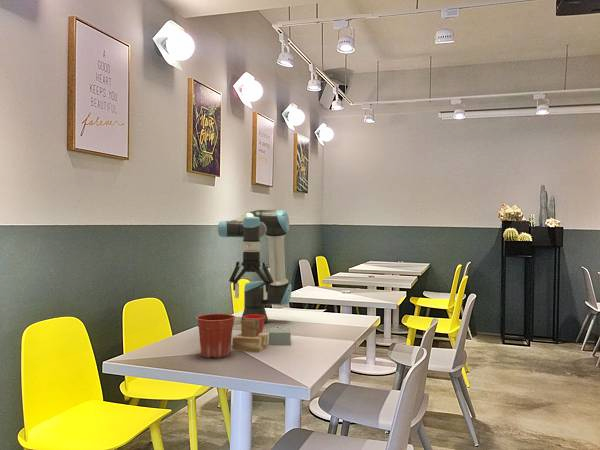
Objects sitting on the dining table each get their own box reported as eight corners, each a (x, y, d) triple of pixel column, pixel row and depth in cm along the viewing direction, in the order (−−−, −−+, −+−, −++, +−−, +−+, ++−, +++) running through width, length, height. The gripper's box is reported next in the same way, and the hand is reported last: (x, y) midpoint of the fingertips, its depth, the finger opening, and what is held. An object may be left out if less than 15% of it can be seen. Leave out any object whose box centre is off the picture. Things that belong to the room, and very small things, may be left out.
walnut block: (246, 333, 229) (246, 318, 229) (259, 334, 228) (259, 319, 228) (241, 336, 224) (241, 320, 224) (253, 337, 222) (254, 321, 222)
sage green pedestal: (268, 340, 241) (269, 328, 241) (289, 340, 242) (289, 328, 242) (268, 345, 231) (268, 332, 231) (290, 345, 232) (290, 332, 232)
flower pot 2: (261, 338, 245) (261, 318, 245) (240, 337, 248) (240, 317, 248) (267, 333, 256) (267, 314, 256) (246, 332, 258) (246, 313, 258)
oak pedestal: (242, 345, 233) (243, 332, 233) (267, 346, 230) (267, 333, 230) (232, 351, 221) (232, 337, 221) (258, 353, 218) (258, 339, 218)
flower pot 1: (200, 349, 222) (201, 313, 222) (237, 350, 222) (238, 313, 222) (191, 359, 206) (191, 320, 206) (231, 360, 205) (231, 320, 205)
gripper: (222, 251, 225) (221, 298, 225) (275, 252, 219) (274, 301, 219) (229, 250, 233) (228, 296, 233) (280, 251, 226) (280, 298, 226)
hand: (251, 298), depth 226 cm, fingers open, 13 cm apart
